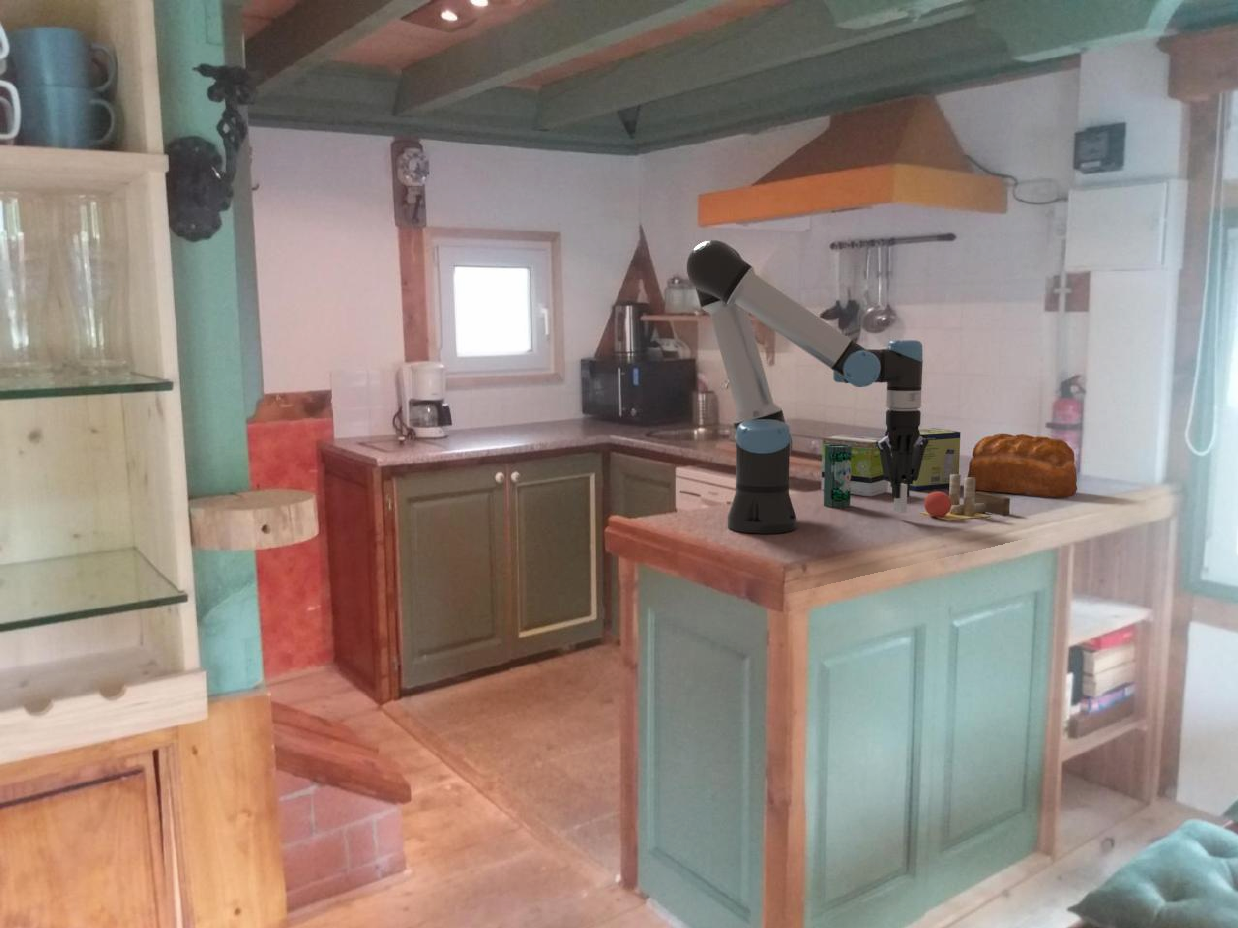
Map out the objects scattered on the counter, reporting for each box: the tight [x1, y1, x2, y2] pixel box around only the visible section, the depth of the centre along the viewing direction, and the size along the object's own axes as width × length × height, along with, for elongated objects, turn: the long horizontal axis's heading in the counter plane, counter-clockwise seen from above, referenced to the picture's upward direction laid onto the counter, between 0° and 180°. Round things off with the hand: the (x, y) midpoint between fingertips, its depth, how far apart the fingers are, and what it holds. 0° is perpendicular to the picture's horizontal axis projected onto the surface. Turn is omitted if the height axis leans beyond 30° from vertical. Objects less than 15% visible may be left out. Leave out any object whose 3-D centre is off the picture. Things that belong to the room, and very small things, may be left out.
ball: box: [923, 490, 951, 518], centre depth 225 cm, size 6×6×6 cm
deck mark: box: [919, 511, 991, 522], centre depth 228 cm, size 12×10×1 cm
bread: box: [966, 433, 1078, 499], centre depth 259 cm, size 14×26×16 cm, turn 50°
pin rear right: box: [962, 476, 976, 516], centre depth 226 cm, size 2×2×9 cm
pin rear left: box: [948, 474, 962, 506], centre depth 230 cm, size 2×2×9 cm
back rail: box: [974, 491, 1011, 516], centre depth 231 cm, size 2×10×4 cm, turn 21°
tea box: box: [821, 434, 889, 497], centre depth 260 cm, size 15×10×15 cm
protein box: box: [890, 428, 962, 493], centre depth 267 cm, size 10×16×16 cm
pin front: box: [949, 503, 987, 515], centre depth 229 cm, size 2×2×9 cm
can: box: [823, 444, 852, 509], centre depth 240 cm, size 6×6×15 cm
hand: (900, 511), depth 222 cm, fingers closed
